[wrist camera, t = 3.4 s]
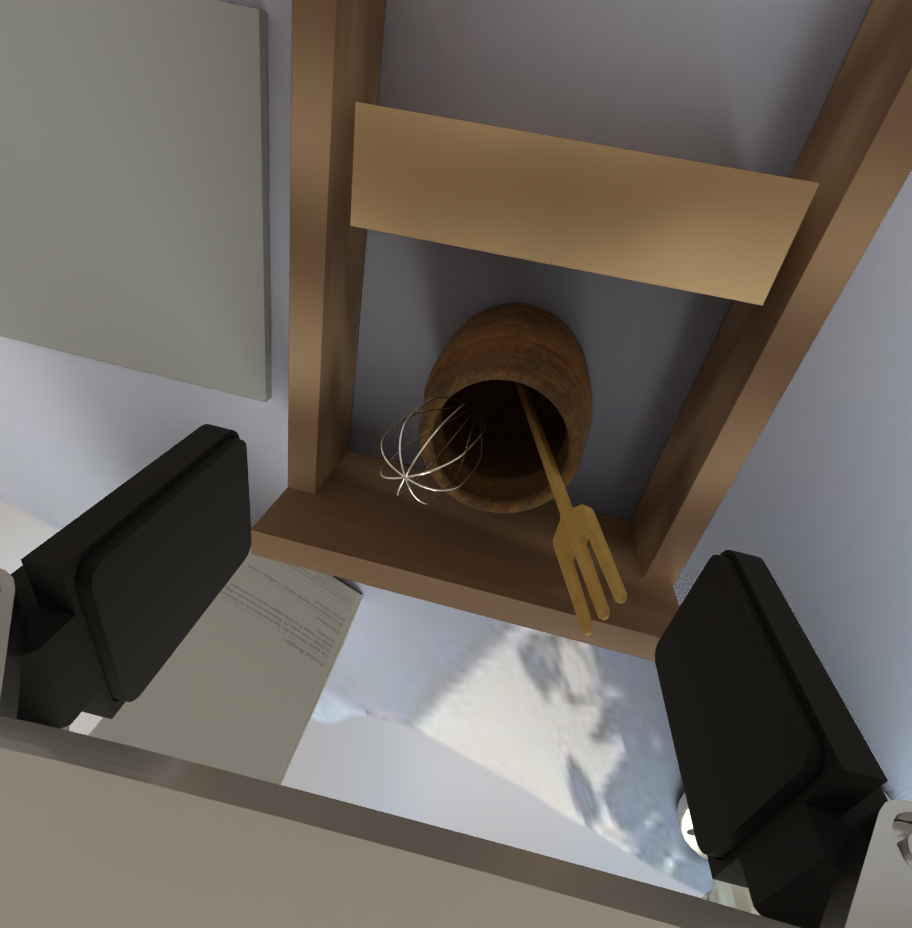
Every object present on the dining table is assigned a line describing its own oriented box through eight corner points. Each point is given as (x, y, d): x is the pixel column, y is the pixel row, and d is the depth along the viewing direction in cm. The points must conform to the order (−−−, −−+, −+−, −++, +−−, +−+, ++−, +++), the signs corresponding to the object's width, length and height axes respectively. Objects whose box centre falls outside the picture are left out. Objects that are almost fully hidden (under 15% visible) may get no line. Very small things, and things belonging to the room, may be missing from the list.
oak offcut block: (712, 277, 18) (762, 305, 14) (396, 217, 19) (350, 225, 14) (749, 184, 16) (819, 183, 12) (404, 123, 17) (355, 101, 13)
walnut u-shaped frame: (645, 546, 24) (676, 667, 18) (324, 464, 25) (251, 554, 19) (932, -23, 13) (1244, -197, 7) (356, -131, 14) (213, -363, 8)
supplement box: (214, 592, 31) (33, 810, 20) (262, 525, 27) (75, 745, 17) (311, 653, 32) (190, 888, 22) (369, 597, 29) (260, 843, 18)
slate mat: (271, 397, 23) (265, 402, 23) (1, 331, 24) (-9, 333, 24) (266, 13, 16) (259, 8, 16) (-118, -66, 17) (-135, -72, 17)
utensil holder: (484, 270, 19) (405, 368, 9) (622, 349, 20) (702, 529, 9) (422, 394, 22) (308, 576, 12) (543, 459, 23) (536, 688, 12)
